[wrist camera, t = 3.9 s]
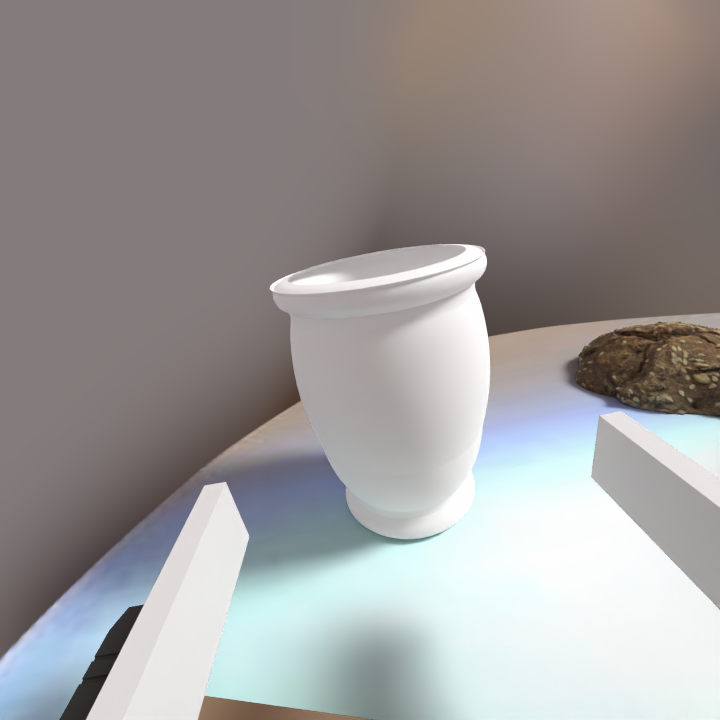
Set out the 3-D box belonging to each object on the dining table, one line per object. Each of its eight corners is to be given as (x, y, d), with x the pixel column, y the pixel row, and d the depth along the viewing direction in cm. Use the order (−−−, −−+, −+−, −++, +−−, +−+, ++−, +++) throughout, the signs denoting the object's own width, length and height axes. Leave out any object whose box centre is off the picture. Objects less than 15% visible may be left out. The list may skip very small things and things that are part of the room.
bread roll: (724, 351, 32) (739, 299, 30) (819, 430, 22) (850, 360, 20) (566, 351, 37) (569, 307, 35) (583, 413, 27) (589, 357, 25)
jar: (332, 577, 18) (246, 306, 12) (331, 453, 27) (283, 268, 22) (526, 539, 18) (536, 251, 12) (458, 428, 27) (445, 237, 22)
